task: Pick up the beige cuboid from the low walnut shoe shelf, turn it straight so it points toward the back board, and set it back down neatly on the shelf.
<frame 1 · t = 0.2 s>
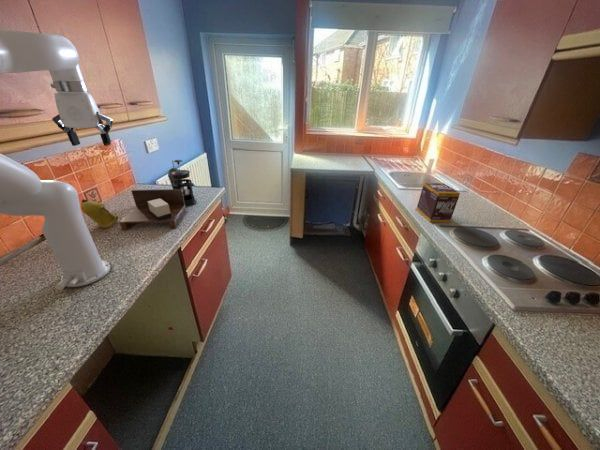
hand: (92, 145, 85), 36 cm above the countertop, tool pointing down, fingers open, 9 cm apart
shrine: (106, 227, 109), on the countertop
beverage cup: (179, 195, 143), on the countertop
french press: (186, 203, 133), on the countertop
beige cuboid: (160, 214, 112), point 4 cm above the countertop, touching shoe shelf
supplement box: (432, 216, 129), on the countertop
shoe shelf: (156, 220, 115), on the countertop
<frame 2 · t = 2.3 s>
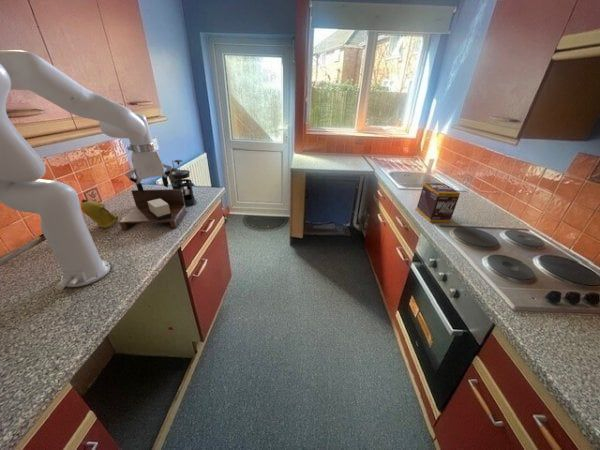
hand: (154, 189, 106), 16 cm above the countertop, tool pointing down, fingers open, 9 cm apart
nothing on the countertop moved.
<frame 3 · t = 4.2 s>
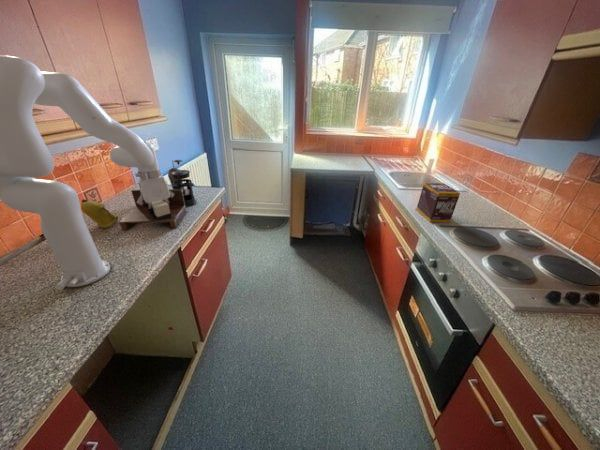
hand: (160, 213, 111), 5 cm above the countertop, tool pointing down, fingers closed on beige cuboid, 5 cm apart
beige cuboid: (159, 214, 112), point 4 cm above the countertop, touching gripper, shoe shelf
everything else where it was.
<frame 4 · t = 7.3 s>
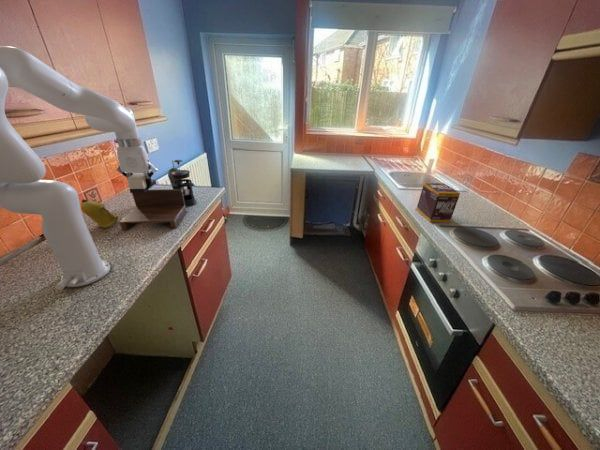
hand: (142, 186, 105), 17 cm above the countertop, tool pointing down, fingers closed on beige cuboid, 5 cm apart
beige cuboid: (143, 187, 106), point 16 cm above the countertop, touching gripper
everything else where it was.
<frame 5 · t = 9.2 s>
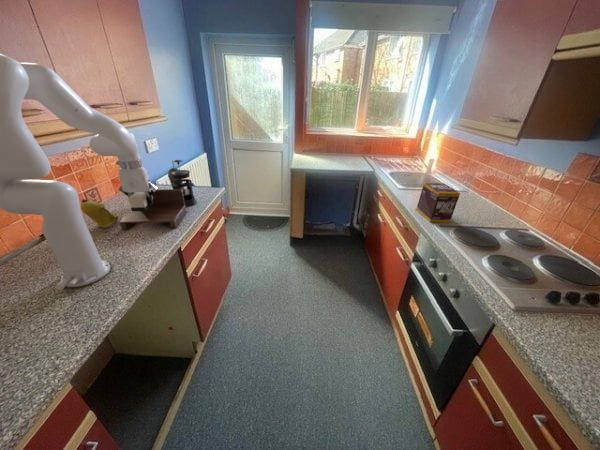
hand: (143, 204, 109), 9 cm above the countertop, tool pointing down, fingers closed on beige cuboid, 5 cm apart
beige cuboid: (144, 205, 110), point 8 cm above the countertop, touching gripper
everything else where it was.
when the fingers open (5 cm above the countertop, at t = 10.6 s): beige cuboid stays where it is, resting on shoe shelf.
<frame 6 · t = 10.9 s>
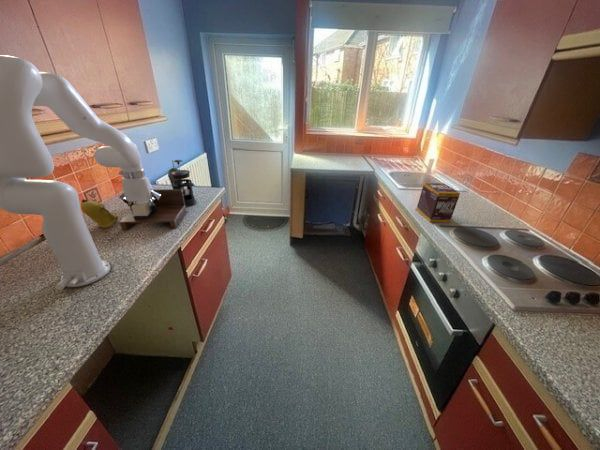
hand: (145, 212, 111), 5 cm above the countertop, tool pointing down, fingers open, 7 cm apart
beige cuboid: (146, 213, 112), point 4 cm above the countertop, touching shoe shelf
everything else where it was.
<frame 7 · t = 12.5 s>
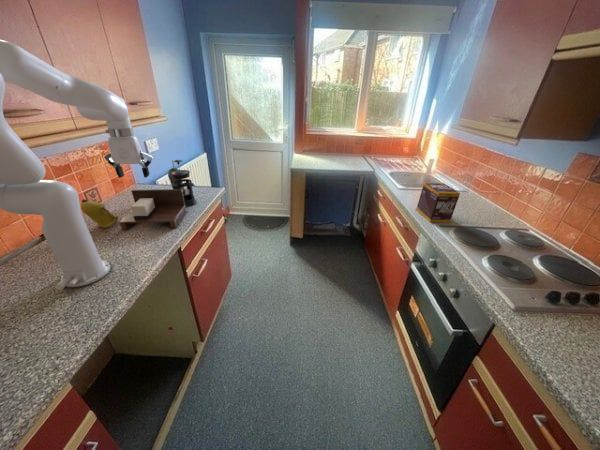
hand: (134, 176, 103), 22 cm above the countertop, tool pointing down, fingers open, 9 cm apart
nothing on the countertop moved.
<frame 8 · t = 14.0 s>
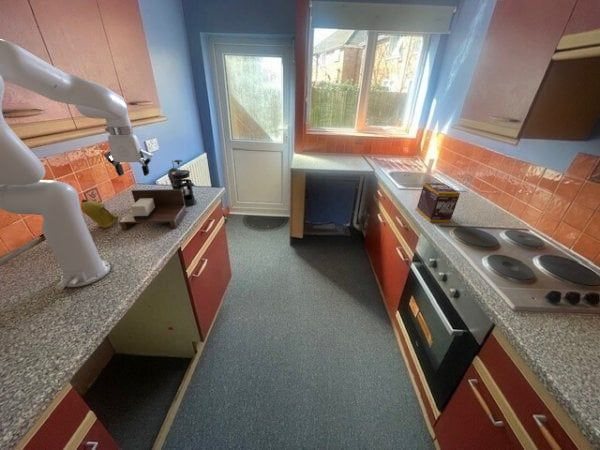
hand: (134, 174, 103), 22 cm above the countertop, tool pointing down, fingers open, 9 cm apart
nothing on the countertop moved.
at the end: beige cuboid 0.1 cm from the target spot, point 4.0 cm above the countertop; beige cuboid tilted 0°; beige cuboid moved 6.1 cm from its start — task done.
